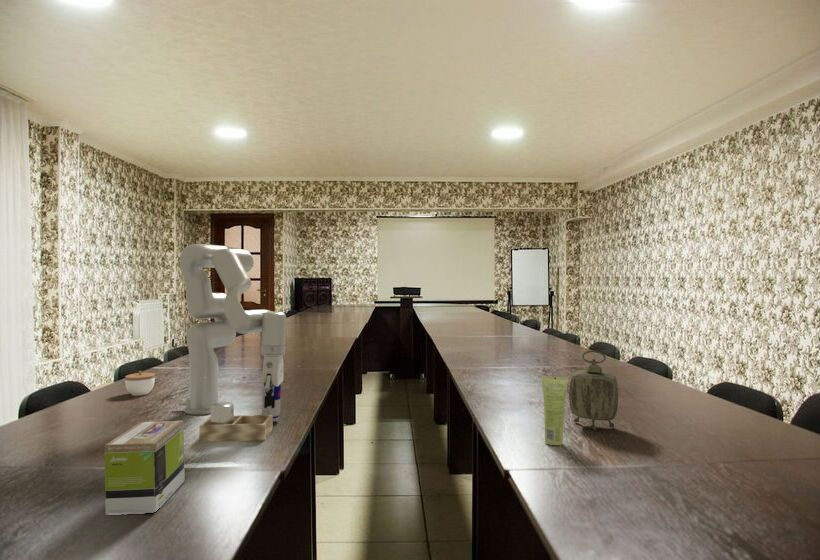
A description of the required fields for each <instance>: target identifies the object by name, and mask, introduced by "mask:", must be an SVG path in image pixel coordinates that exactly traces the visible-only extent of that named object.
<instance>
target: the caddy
mask: <svg viewBox="0 0 820 560" xmlns="http://www.w3.org/2000/svg"><path fill="white" fill-rule="evenodd" d="M273 422H274V421H273V415H262V414H249V415H248V414H238V415H237V414H236V415H235V414H234V423H233V424H218V425H211V416H209V417H208V418H207V419H206V420H204V421H203V422H202V423H201V424H199V426H198V429H199V433H198V434H199V435H198V436H199V443H201V442H202V443H205V442H241V441H243V442H245V441H250V442H251V441H266V440H267V438H268V437H269V435H270V434H271V432H272V431H273V429H274V428H273V426H274V425H273Z"/></svg>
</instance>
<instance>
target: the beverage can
mask: <svg viewBox="0 0 820 560" xmlns="http://www.w3.org/2000/svg"><path fill="white" fill-rule="evenodd" d="M264 384H266V382H265V383H264ZM270 386H273V384H272V383H271V384H270ZM281 386H282V383H281V384H280V385H279V386H278V387H276V386H274V396H275V407H274V408H271V406H272V405H271V406H270V407H269V406H267V408H264V399H265V387H264V386H263V385H262V397H261V399H262V401H261V403H262V404H261V406H262V407H261V415H273V422H274V421H277V420H278V419H280V418H281V389H282V387H281ZM270 389H272V388H270Z"/></svg>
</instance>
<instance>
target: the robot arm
mask: <svg viewBox="0 0 820 560" xmlns="http://www.w3.org/2000/svg"><path fill="white" fill-rule="evenodd" d="M254 262H255V261H254V257H253V255H252V254H251V253H250V252H249V251H247V250H246V249H242V248H236V247H233V246H227V245H218V244H209V243H208V244H205V243H192V244H188V245H187V246H186V247H184V248H183V249H182V251H181V253H180V257H179V267H180V271H181V274H182V277H183V280H184V287H185V296H186V305H187V311H188V313H189V316H190V317H191V318H192V319H195V320H206V319H214V321H209V322H208V321H206V322H199V323H195V324H192V325H191V326H190V327H189V328H188V329H187V330H186V334H185V335H186V339H185V340H186V343H187V349H188V357H189V358H188V359H189V360H188V361H189V367H188V368H189V375H188V376H189V378H188V379H189V380H188V382H189V387H188V389H189V390H188V391H189V392H188V393H189V395H188V396H189V397H188V398H179V399H178V401H177V404H178V406H186V407H185V408H184V413H185V414H187V415H194V416H195V415H208V414H211V405H213V404H216V403H219V359H218V357H217V354H216V353H215V351H214V348H221V347H226V346H230V345H232V344H233V343H234V341H236V336H237V333H238V334H241V335H242V334H243V335H247V334H253V333H254V334H255V333H261V346H260V347H261V348H260V349H261V350H260V354H261V356H263V362H262V363H263V365H262V387H263V386H264V387H265V399H264V408H267V406H269V407H270V406H271V405H272V406H271V408H274V407H275V396H274V386H276V387H278V386H279V385H280V384H281V385H282V383H283V381H284V356H285V355H286V341H287V340H286V339H287V338H286V337H287V336H286V334H287V333H286V332H287V315H286V313H285V312H282V311H272V310H269V309H265V308H262V309H248V310H245V309H244V308H243V306H242V304H241V301H240V298H239V296H241V295H243V294H244V293H246V292H248V290H249V289H250V288H251V286H252V280H251V278H250V277H249V274H248V272H250V271H251V270H252V269H253V267H254ZM203 268H209V269H215V271H216V273H217V274H218V277H219V279H220V280H221V282H222V284H223V286H224V288H225V290H226V293H223V292H213V290H212V283H211V279H210V278H209V275H208V274H207V272H206V271H205V270H203ZM265 382H266V384H264V383H265ZM271 383H272V384H273V386H270V384H271ZM270 388H272V389H270Z"/></svg>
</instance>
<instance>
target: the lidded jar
mask: <svg viewBox="0 0 820 560" xmlns="http://www.w3.org/2000/svg"><path fill="white" fill-rule="evenodd" d="M124 379H125V382H124V383H125V387H126V391H127V392H128V393H130V394H131V396H136V397H137V396H145V395H148V394H149V393H150V392H151V391H152V389H154V386H155V381H156V374H155V372H142V370H139V371H138V372H135V373H131V374H127V375H125V376H124Z"/></svg>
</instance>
